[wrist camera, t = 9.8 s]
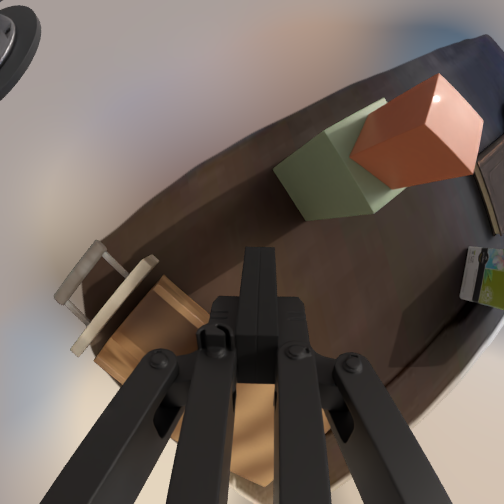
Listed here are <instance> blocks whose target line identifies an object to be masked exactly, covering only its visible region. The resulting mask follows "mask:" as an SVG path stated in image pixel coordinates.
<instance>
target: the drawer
mask: <svg viewBox="0 0 504 504" xmlns="http://www.w3.org/2000/svg"><path fill="white" fill-rule="evenodd" d="M106 251H107V248H106V247H105V246H104V245H103V244H102V243H101V242H100V241H98V240H95V241H94V243H93V244H92V245H91V246H90V248H89V249H88V250H87V251H86V253H85V254H84V255H83V257H82V258H81V259H80V260H79V262H78V263H77V264H76V266H75V267H74V268H73V270H72V271H71V272H70V274H69V275H68V276H67V278H66V279H65V281H64V282H63V283H62V285H61V286H60V288H59V289H58V290H57V292H56V293H55V294H54V298H55V300H56V301H57V302H58V303H59V304H61V305H65V306H67V308H69V310H71V311H72V312H73V313H74V314H75V315H76V316H77V317H78V318H79V319H80V320H81V321H82V322H83V323H84V324H85V325H86V326H87V328H86V329H85V330H84V332H83V333H82V334H81V336H80V337H79V338H78V340H77V341H76V342H75V344H74V345H73V346H72V348H71V349H70V350H71V351H72V352H73V353H74V354H75V355H76V356H77V357H79V356H80V355H81V354H82V353H83V352H84V350H85V349H86V348H87V347H88V346H89V345H90V343H91V342H92V341H93V340H94V339H95V338H96V336H97V335H98V334H99V333H100V331H101V330H102V329H103V328H104V326H105V325H106V324H107V323H108V321H109V320H110V319H111V318H112V317H113V315H114V314H115V313H116V312H117V310H118V309H119V308H120V307H121V306H122V304H123V303H124V302H125V301H126V300H127V298H128V297H129V296H130V295H131V294H132V292H133V291H134V290H135V289H136V288H137V286H138V285H139V284H140V283H141V282H142V281H143V279H144V278H145V277H146V276H147V275H148V274H149V272H150V271H151V270H152V269H153V268H154V267H155V266H156V264H157V263H158V262H159V260H158V259H157V258H156V257H155V256H154V255H150V256H148V257H146V258H144V259H142V260H141V261H140V262H139V264H138V265H137V266H136V267H135V268H134V270H133V271H132V272H131V273H129V272H127V271H126V270H125V269H124V268H123V267H122V266H121V265H120V264H119V263H118V262H117V261H116V260H115V259H114V258H113V257H112V256H111V255H110V254H109V253H108V252H106ZM101 257H103V258H104V259H105V260H106V261H107V262H108V263H110V264H111V265H112V266H113V267H114V268H115V269H116V270H117V271H118V272H119V273H120V274H121V275H122V276H123V277H124V278H125V280H124V281H123V283H122V284H121V285H120V286H119V287H118V289H117V290H116V291H115V292H114V294H113V295H112V296H111V297H110V299H109V300H108V301H107V302H106V303H105V305H104V306H103V307H102V309H101V310H100V311H99V312H98V314H97V315H96V316H95V317H94V319H93V320H92V321H90V320H89V319H88V318H87V317H86V316H85V315H84V314H83V313H82V312H81V311H80V310H79V309H78V308H76V306H75V305H74V304H73V303H71V301H70V300H69V298H70V297H71V295H72V294H73V293H74V291H75V290H76V289H77V287H78V286H79V285H80V284H81V282H82V281H83V280H84V278H85V277H86V276H87V274H88V273H89V272H90V271H91V269H92V268H93V267H94V266H95V264H96V263H97V262H98V260H99V259H100V258H101ZM209 318H210V314H208V313H207V312H206V311H205V310H204V309H202V308H201V307H200V306H199V305H198V304H197V303H195V302H194V301H193V300H192V299H191V298H190V297H189V296H187V295H186V294H185V293H184V292H183V291H182V290H181V289H179V288H178V287H177V286H176V285H175V284H174V283H173V282H172V281H170V280H169V279H168V278H167V277H166V276H165V275H163V276H162V277H161V278H160V279H159V280H158V281H157V282H156V284H155V285H154V286H153V287H152V288H151V289H150V291H149V292H148V293H147V294H146V295H145V296H144V298H143V299H142V300H141V301H140V302H139V303H138V305H137V306H136V307H135V308H134V309H133V311H132V312H131V313H130V314H129V315H128V316H127V318H126V319H125V320H124V321H123V322H122V324H121V325H120V326H119V327H118V329H117V330H116V331H115V332H114V333H113V335H112V336H111V337H110V338H109V340H108V341H107V342H106V344H105V345H104V346H103V348H102V349H101V351H100V352H99V353H98V355H97V356H96V358H95V359H94V362H95V363H96V364H98V365H99V366H100V367H101V368H102V369H103V370H105V371H106V372H107V373H108V374H110V375H111V376H112V377H113V378H115V379H116V380H117V381H118V382H120V383H121V384H122V385H123V384H124V382H125V381H126V380H127V378H128V377H129V376H130V374H131V373H132V371H133V370H134V369H135V367H136V366H137V365H138V363H139V362H140V361H141V359H142V358H143V357H144V355H146V354H147V353H148V352H149V351H152V350H154V349H159V348H163V349H168V350H170V351H172V352H173V353H174V354H175V355H176V356H179V355H185V354H189V353H192V352H194V351H196V350H198V346H197V339H196V332H197V330H198V328H200V327H201V326H202V325H204V324H207V323H208V322H209Z"/></svg>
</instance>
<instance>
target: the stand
mask: <svg viewBox="0 0 504 504" xmlns="http://www.w3.org/2000/svg"><path fill="white" fill-rule="evenodd" d="M386 103H387V102H386V100H385V98H382V99H380V100H378V101H376V102H374V103H373V104H371V105H369V106H367V107H365V108H363V109H361V110H360V111H358V112H356V113H354V114H352V115H350V116H349V117H347V118H345V119H343V120H341V121H340V122H338V123H336V124H334V125H333V126H331V127H329V128H327V129H326V130H324V131H322V132H321V133H320V134H318V135H317V136H316V137H314V138H313V139H311V140H310V141H309V142H307V143H306V144H305V145H303V146H302V147H301V148H299V149H298V150H297V151H295V152H294V153H293V154H291V155H290V156H289V157H287V158H286V159H285V160H283V161H282V162H281V163H279V164H278V165H277V166H276V167H274V168H273V169H272V170H273V171H274V173H275V174H276V176H277V177H278V179H279V180H280V182H281V183H282V185H283V186H284V188H285V189H286V191H287V193H288V194H289V196H290V197H291V199H292V200H293V202H294V203H295V205H296V206H297V208H298V210H299V211H300V213H301V214H302V216H303V218H304V219H305V221H312V220H321V219H329V218H338V217H347V216H356V215H366V214H374V213H375V212H377V211H378V210H379V209H380V208H382V207H383V206H384V205H385V204H387V203H388V202H389V201H390V200H392V199H393V198H394V197H395V196H397V195H398V194H399V193H400V192H401V191H403V190H404V189H405V188H406V187H404V188H399V189H394V190H392V189H391V188H389V187H388V186H387V185H385V184H384V183H383V182H382V181H380V180H379V179H378V178H376V177H375V176H374V175H372V174H371V173H370V172H368V171H367V170H366V169H364V168H363V167H362V166H360V165H359V164H358V163H356V162H355V161H354V160H352V159H351V158H349V156H350V154H351V152H352V150H353V147H354V145H355V143H356V141H357V139H358V137H359V134H360V132H361V130H362V128H363V126H364V123H365V121H366V119H367V117H368V115H369V114H370V113H371V112H373V111H375V110H376V109H378V108H380V107H381V106H383V105H385V104H386Z"/></svg>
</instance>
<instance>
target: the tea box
mask: <svg viewBox="0 0 504 504" xmlns="http://www.w3.org/2000/svg"><path fill="white" fill-rule="evenodd" d="M459 297H460V298H461V299H464V300H468V301H471V302H475V303H479V304H483V305H486V306H490V307H494V308H498V309H502V310H504V250H503V249H492V248H481V247H469V248H468V254H467V259H466V265H465V270H464V276H463V281H462V286H461V291H460V296H459Z"/></svg>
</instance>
